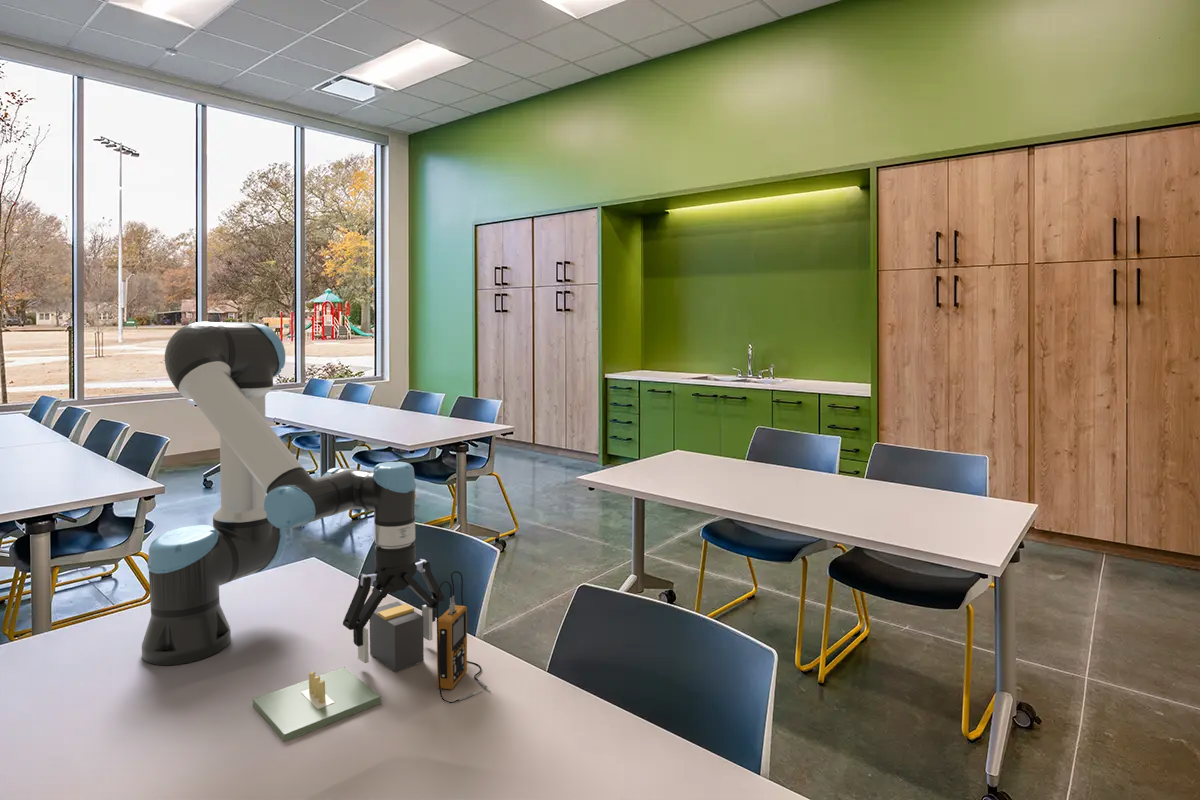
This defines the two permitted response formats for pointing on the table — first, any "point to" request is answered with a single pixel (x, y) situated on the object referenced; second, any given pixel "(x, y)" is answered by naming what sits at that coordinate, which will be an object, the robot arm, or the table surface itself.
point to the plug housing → (397, 636)
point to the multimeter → (452, 645)
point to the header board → (315, 702)
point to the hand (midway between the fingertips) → (396, 649)
